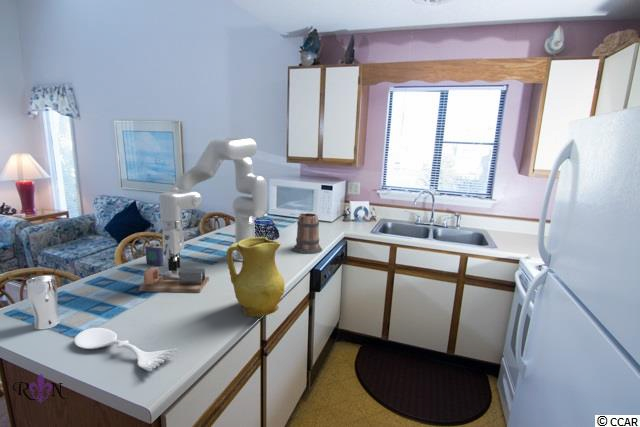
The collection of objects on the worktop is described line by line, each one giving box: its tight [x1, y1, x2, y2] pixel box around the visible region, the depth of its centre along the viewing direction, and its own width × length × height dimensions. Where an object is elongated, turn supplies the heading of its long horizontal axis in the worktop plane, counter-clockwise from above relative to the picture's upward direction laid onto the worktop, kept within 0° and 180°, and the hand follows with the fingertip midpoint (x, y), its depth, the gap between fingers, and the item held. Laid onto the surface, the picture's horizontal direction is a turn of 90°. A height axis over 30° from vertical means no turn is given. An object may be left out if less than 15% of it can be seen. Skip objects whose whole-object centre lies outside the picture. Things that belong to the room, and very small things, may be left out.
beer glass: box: [25, 274, 61, 331], centre depth 100 cm, size 7×7×15 cm
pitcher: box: [226, 236, 285, 318], centre depth 114 cm, size 17×19×25 cm
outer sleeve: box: [178, 267, 206, 285], centre depth 131 cm, size 8×5×5 cm, turn 92°
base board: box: [138, 275, 210, 293], centre depth 132 cm, size 23×12×2 cm, turn 92°
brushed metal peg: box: [162, 257, 203, 280], centre depth 130 cm, size 15×3×10 cm, turn 92°
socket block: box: [143, 267, 160, 284], centre depth 130 cm, size 4×5×5 cm
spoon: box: [73, 327, 179, 372], centre depth 89 cm, size 9×32×4 cm, turn 68°
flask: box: [145, 242, 165, 267], centre depth 152 cm, size 9×3×11 cm, turn 74°
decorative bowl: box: [254, 213, 280, 241], centre depth 205 cm, size 20×20×14 cm
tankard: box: [292, 212, 323, 255], centre depth 185 cm, size 24×17×20 cm
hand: (174, 268), depth 130 cm, fingers closed on brushed metal peg, 2 cm apart
